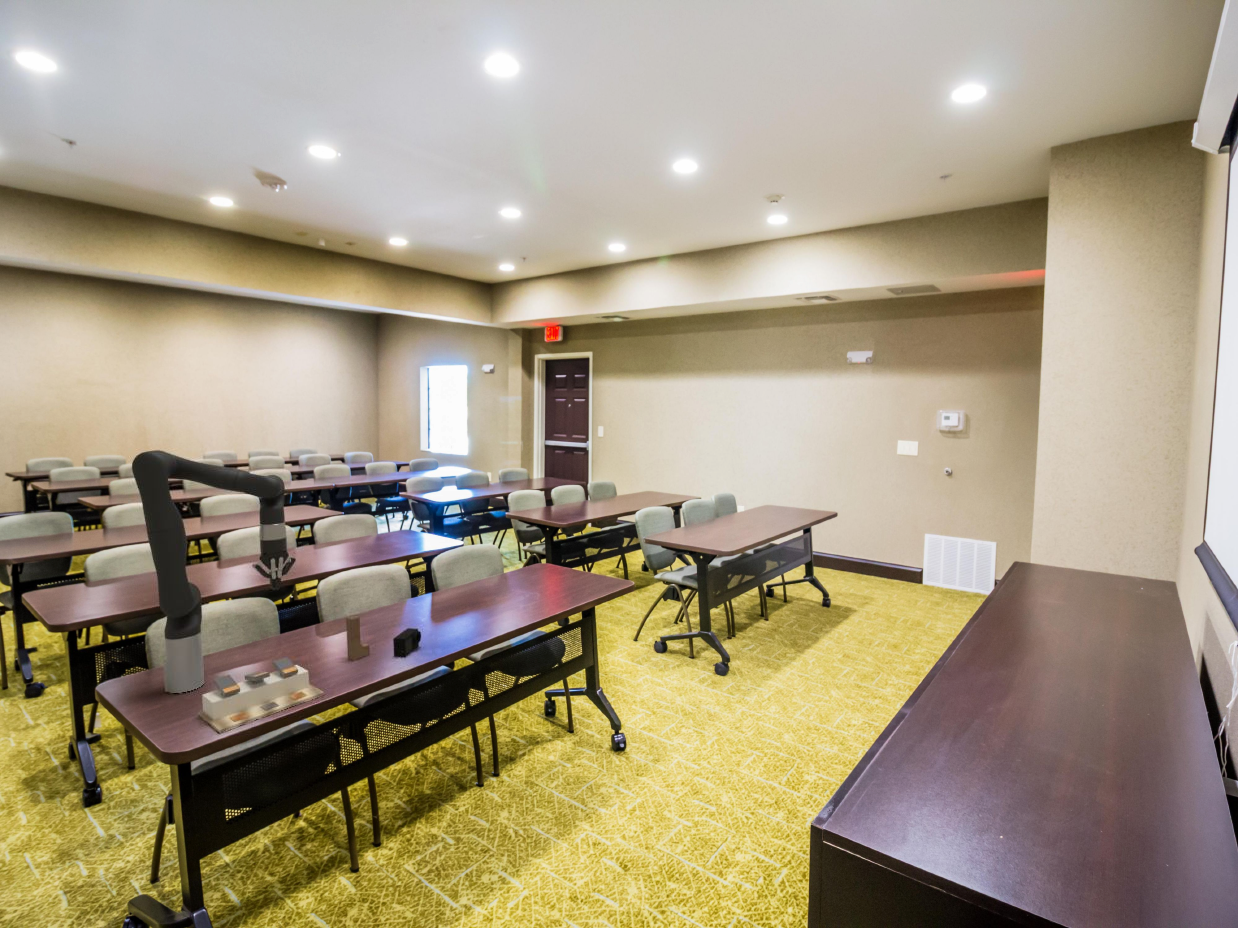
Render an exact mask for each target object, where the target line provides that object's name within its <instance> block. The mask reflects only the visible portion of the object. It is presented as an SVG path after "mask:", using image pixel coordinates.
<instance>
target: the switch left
mask: <svg viewBox="0 0 1238 928" xmlns="http://www.w3.org/2000/svg"><path fill="white" fill-rule="evenodd" d="M213 684H214V685H215V686H216V688H217V690H219V691H220V692H221V693H222V695H223V696H224V697H226V696H229V695H232V694H235V693H238V692H240V687H239V686H238V685H237V684H238V683H237V682H236V681H235V680H234V678H233V676H231V675H230V674H226V675H223V676H220V677H217V678H214V679H213Z"/></svg>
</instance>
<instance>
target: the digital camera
mask: <svg viewBox="0 0 1238 928" xmlns="http://www.w3.org/2000/svg"><path fill="white" fill-rule="evenodd" d="M421 640H422V632H421V631H419V628H407V627H406V629H405V630H403V631H402V632H400V633H399V634H398V635H396V636H395V637H393V640H392V641H393V642H392V643H393V658H403V659H406V658H407V657H408V656H409V655H411V654H412V653H413V652H414V651H416V650H417V649H418V648H419V647H420V646H419V643H420V642H421Z"/></svg>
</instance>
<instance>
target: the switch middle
mask: <svg viewBox="0 0 1238 928" xmlns="http://www.w3.org/2000/svg"><path fill="white" fill-rule="evenodd" d="M270 673H271V672H268V671H264V670H263V671H261V670H258V671H255V672H251V673H248V674H246V675H244V681H247V680H251V681H257V680H260V679H264V678H267V677H270Z"/></svg>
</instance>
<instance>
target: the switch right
mask: <svg viewBox="0 0 1238 928" xmlns="http://www.w3.org/2000/svg"><path fill="white" fill-rule="evenodd" d="M272 666H273V667H275V669H276V671H279V672H280V673H281V674H282V676H283V677H287V676H290V675H293V674H296V673H298V669H297V668H296V667H295V666H294V663H293V662H292V661H291V659H289V658H288V657H287V656H286V657H283V658H279V659H275V660H272Z"/></svg>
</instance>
